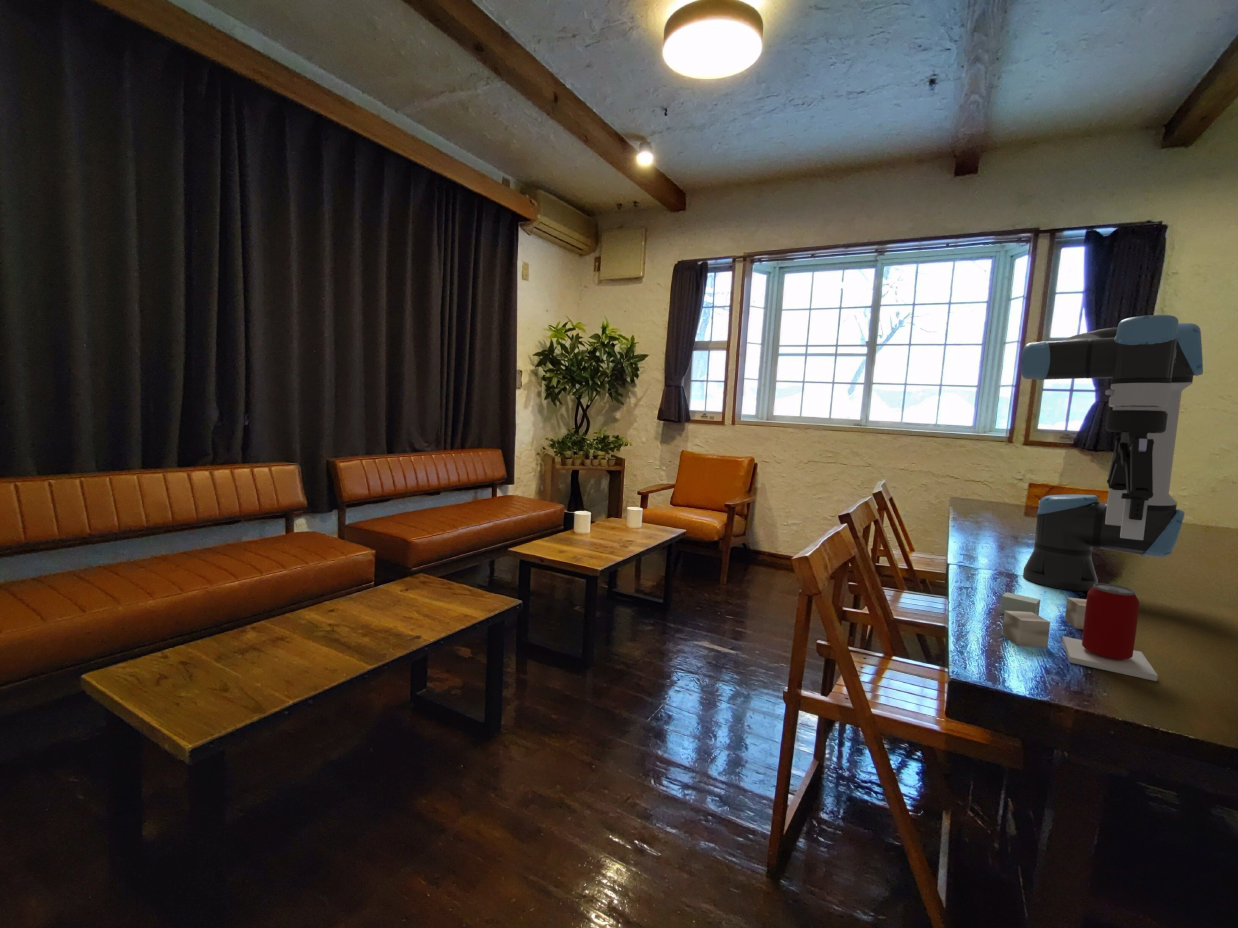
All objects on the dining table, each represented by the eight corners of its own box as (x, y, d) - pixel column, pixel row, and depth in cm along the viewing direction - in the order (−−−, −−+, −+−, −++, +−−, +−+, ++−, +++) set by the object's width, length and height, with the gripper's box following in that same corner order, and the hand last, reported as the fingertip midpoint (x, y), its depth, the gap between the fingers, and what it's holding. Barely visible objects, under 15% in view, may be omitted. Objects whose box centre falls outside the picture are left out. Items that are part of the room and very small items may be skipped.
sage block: (1004, 609, 120) (1006, 592, 120) (1038, 617, 116) (1040, 599, 115) (1000, 613, 118) (1001, 595, 117) (1034, 622, 113) (1036, 603, 113)
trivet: (1061, 641, 103) (1062, 636, 103) (1140, 657, 97) (1141, 651, 97) (1069, 662, 94) (1070, 656, 94) (1157, 681, 88) (1157, 675, 88)
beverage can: (1133, 655, 95) (1141, 588, 94) (1131, 666, 91) (1139, 597, 89) (1083, 642, 100) (1090, 579, 99) (1078, 653, 95) (1086, 587, 94)
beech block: (1064, 620, 115) (1067, 597, 114) (1093, 623, 113) (1096, 600, 113) (1076, 628, 110) (1078, 604, 109) (1106, 632, 108) (1109, 608, 108)
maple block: (1002, 635, 105) (1004, 610, 105) (1029, 637, 105) (1031, 612, 104) (1018, 646, 100) (1021, 620, 100) (1047, 648, 100) (1050, 621, 99)
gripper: (1095, 409, 105) (1083, 517, 107) (1122, 408, 84) (1107, 541, 86) (1149, 410, 101) (1135, 522, 103) (1191, 408, 80) (1173, 549, 82)
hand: (1122, 531), depth 94 cm, fingers open, 13 cm apart
